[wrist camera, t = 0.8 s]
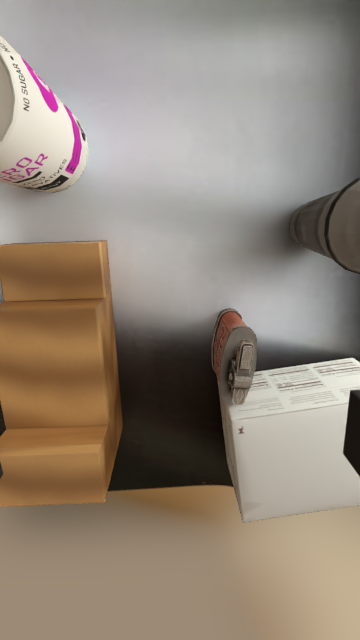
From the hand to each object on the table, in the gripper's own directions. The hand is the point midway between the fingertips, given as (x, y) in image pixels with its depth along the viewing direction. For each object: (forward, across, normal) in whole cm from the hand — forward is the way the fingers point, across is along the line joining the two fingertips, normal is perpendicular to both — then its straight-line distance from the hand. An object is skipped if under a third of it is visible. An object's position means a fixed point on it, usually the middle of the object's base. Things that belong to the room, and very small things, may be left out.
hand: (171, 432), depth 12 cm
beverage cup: (+26, +15, +6) cm, 31 cm away
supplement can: (+26, -12, +15) cm, 32 cm away
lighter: (+26, +6, -7) cm, 28 cm away
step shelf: (+26, -12, -6) cm, 29 cm away
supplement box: (+26, +14, -17) cm, 34 cm away
